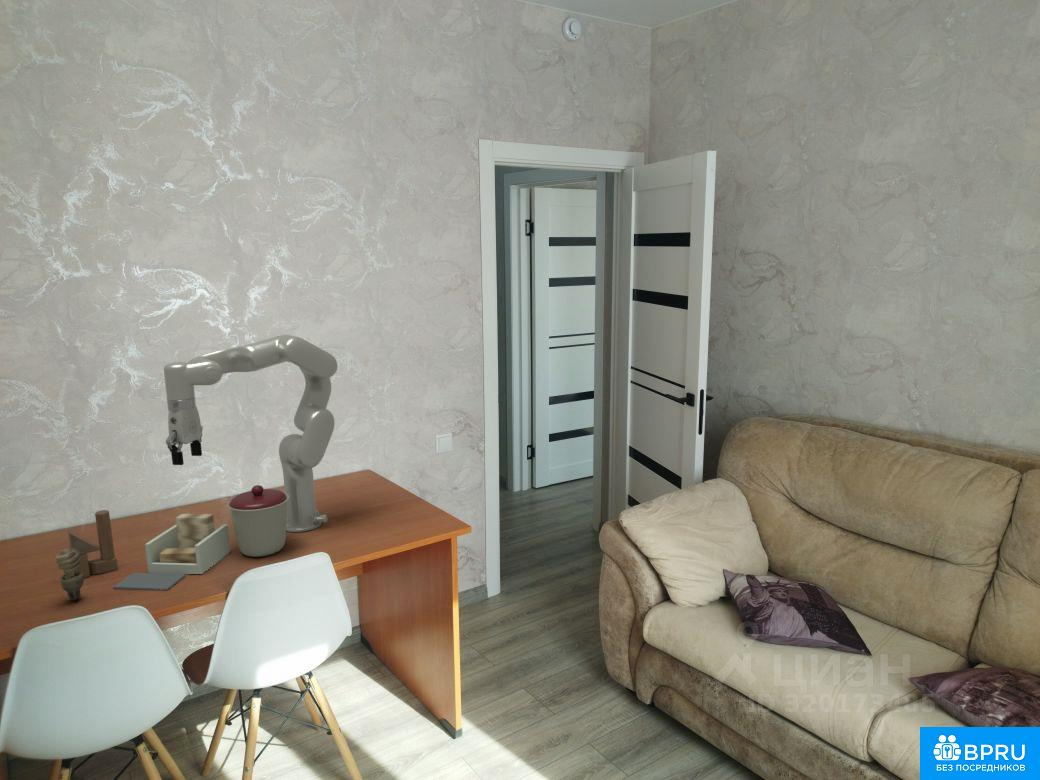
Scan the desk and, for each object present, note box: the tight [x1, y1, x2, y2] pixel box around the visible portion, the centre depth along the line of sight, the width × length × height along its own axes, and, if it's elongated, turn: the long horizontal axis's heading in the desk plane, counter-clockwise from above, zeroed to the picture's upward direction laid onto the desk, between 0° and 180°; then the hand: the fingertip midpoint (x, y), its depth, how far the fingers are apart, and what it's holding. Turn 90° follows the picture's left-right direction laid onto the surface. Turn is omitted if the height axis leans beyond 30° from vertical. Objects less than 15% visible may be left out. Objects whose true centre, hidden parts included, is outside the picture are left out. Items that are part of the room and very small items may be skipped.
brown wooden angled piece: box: [67, 509, 119, 579], centre depth 212 cm, size 4×11×18 cm, turn 129°
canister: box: [226, 484, 289, 558], centre depth 225 cm, size 18×18×21 cm
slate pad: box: [112, 572, 187, 591], centre depth 206 cm, size 16×9×1 cm, turn 84°
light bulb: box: [55, 547, 85, 602], centre depth 195 cm, size 6×6×15 cm
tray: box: [144, 523, 231, 575], centre depth 219 cm, size 16×17×9 cm
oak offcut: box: [159, 548, 196, 563], centre depth 214 cm, size 10×4×3 cm, turn 93°
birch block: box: [175, 513, 216, 548], centre depth 223 cm, size 10×4×13 cm, turn 84°
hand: (187, 460), depth 219 cm, fingers open, 9 cm apart
